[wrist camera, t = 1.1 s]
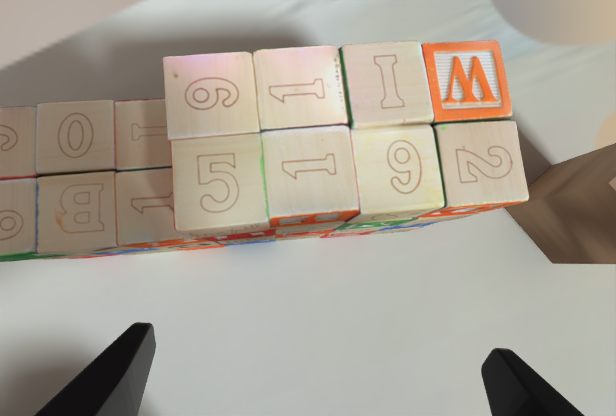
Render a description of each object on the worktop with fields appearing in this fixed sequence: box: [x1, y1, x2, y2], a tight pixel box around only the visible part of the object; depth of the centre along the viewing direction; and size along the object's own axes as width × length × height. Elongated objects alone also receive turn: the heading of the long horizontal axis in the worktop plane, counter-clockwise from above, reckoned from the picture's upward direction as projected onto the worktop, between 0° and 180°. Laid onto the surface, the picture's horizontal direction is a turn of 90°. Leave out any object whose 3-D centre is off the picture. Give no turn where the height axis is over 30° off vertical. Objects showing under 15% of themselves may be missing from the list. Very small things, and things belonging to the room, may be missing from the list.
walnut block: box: [505, 143, 616, 264], centre depth 21 cm, size 5×5×8 cm
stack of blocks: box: [0, 40, 529, 262], centre depth 18 cm, size 21×6×12 cm, turn 96°
